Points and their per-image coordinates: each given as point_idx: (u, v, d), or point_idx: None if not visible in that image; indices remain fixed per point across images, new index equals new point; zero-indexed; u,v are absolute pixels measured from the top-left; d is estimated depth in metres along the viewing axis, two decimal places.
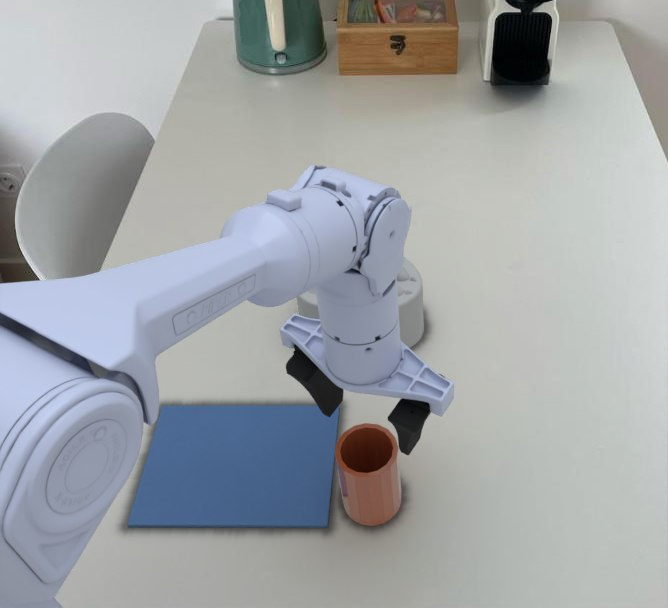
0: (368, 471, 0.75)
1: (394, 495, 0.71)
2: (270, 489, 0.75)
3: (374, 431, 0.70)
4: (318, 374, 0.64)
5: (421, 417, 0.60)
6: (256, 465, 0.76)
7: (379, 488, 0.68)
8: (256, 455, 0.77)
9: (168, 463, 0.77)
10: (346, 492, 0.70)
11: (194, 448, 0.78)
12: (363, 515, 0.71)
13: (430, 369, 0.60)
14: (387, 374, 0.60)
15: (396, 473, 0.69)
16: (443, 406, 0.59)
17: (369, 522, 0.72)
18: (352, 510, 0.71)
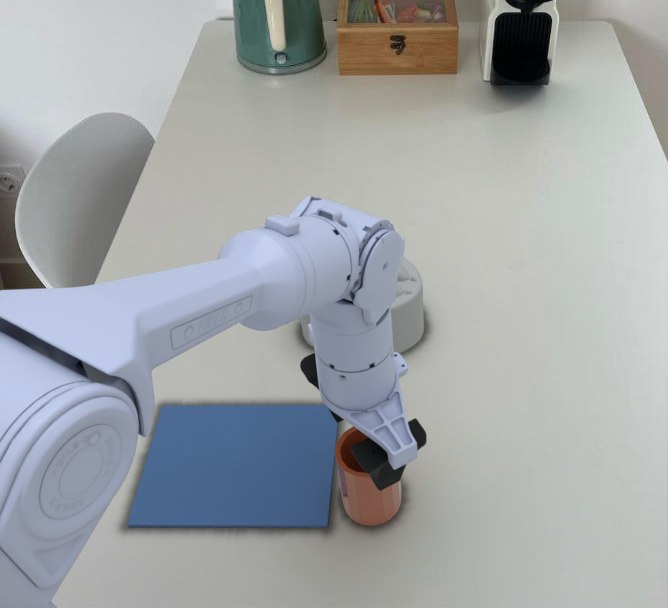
0: None
1: (394, 495, 0.71)
2: (270, 489, 0.75)
3: None
4: None
5: (377, 461, 0.59)
6: (256, 465, 0.76)
7: None
8: (256, 455, 0.77)
9: (168, 463, 0.77)
10: (346, 492, 0.70)
11: (194, 448, 0.78)
12: (363, 515, 0.71)
13: (405, 420, 0.59)
14: (363, 407, 0.60)
15: None
16: (397, 461, 0.58)
17: (369, 522, 0.72)
18: (352, 510, 0.71)
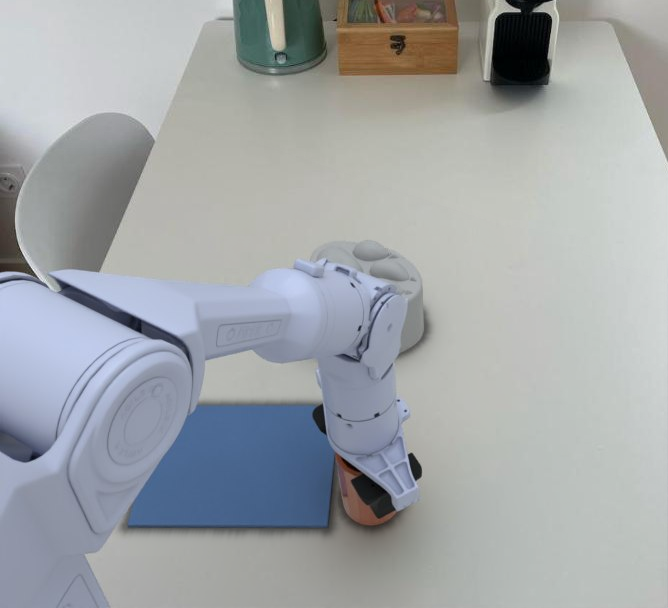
0: None
1: None
2: (270, 489, 0.75)
3: None
4: None
5: (376, 494, 0.64)
6: (256, 465, 0.76)
7: None
8: (256, 455, 0.77)
9: (168, 463, 0.77)
10: (346, 492, 0.70)
11: (194, 448, 0.78)
12: (363, 515, 0.71)
13: (407, 465, 0.63)
14: (368, 452, 0.64)
15: None
16: (400, 503, 0.62)
17: (369, 522, 0.72)
18: (352, 510, 0.71)
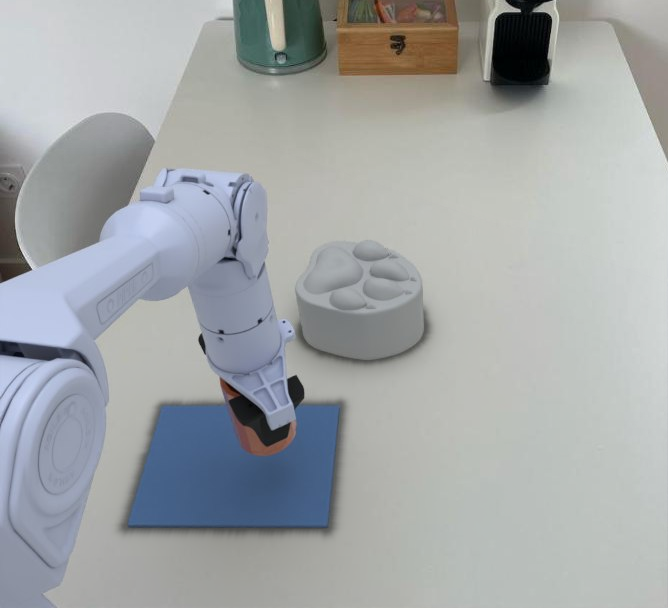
0: None
1: None
2: (270, 489, 0.75)
3: None
4: None
5: (253, 414, 0.61)
6: (256, 465, 0.76)
7: None
8: (256, 455, 0.77)
9: (168, 463, 0.77)
10: (233, 418, 0.67)
11: (194, 448, 0.78)
12: (252, 444, 0.68)
13: (284, 383, 0.61)
14: (245, 370, 0.61)
15: None
16: (273, 421, 0.59)
17: (260, 451, 0.69)
18: (241, 439, 0.69)
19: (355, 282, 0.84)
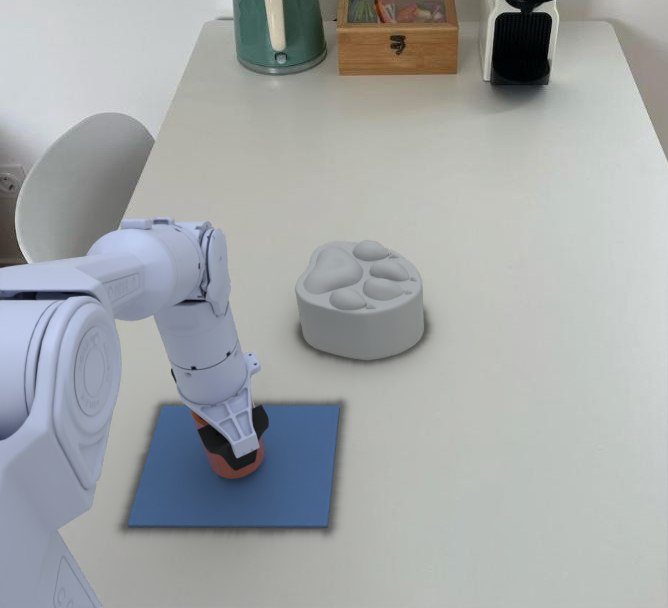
0: None
1: None
2: (270, 489, 0.75)
3: None
4: None
5: (219, 443, 0.66)
6: None
7: None
8: None
9: (168, 463, 0.77)
10: None
11: (194, 448, 0.78)
12: (222, 467, 0.73)
13: (248, 414, 0.65)
14: (212, 402, 0.66)
15: None
16: (238, 450, 0.64)
17: (229, 475, 0.74)
18: (212, 463, 0.73)
19: (355, 282, 0.84)
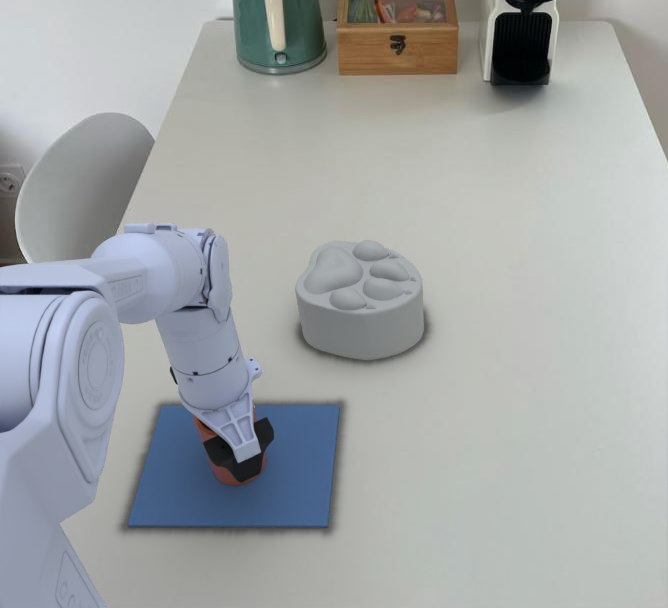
0: None
1: None
2: (270, 489, 0.75)
3: None
4: None
5: (225, 455, 0.66)
6: None
7: None
8: None
9: (168, 463, 0.77)
10: (206, 452, 0.73)
11: (194, 448, 0.78)
12: (225, 475, 0.74)
13: (250, 419, 0.66)
14: (214, 406, 0.66)
15: None
16: (239, 455, 0.64)
17: (232, 482, 0.75)
18: (215, 470, 0.74)
19: (355, 282, 0.84)
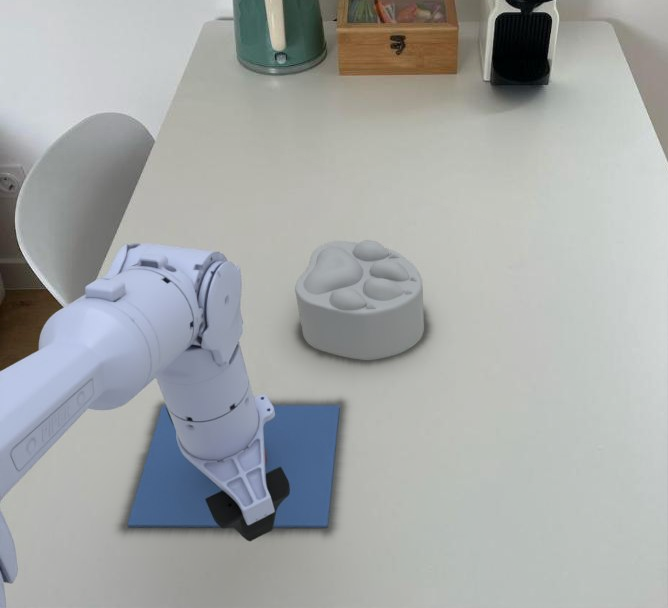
0: None
1: None
2: None
3: None
4: None
5: (232, 516, 0.55)
6: None
7: None
8: None
9: (168, 463, 0.77)
10: None
11: None
12: None
13: (261, 472, 0.55)
14: (219, 457, 0.56)
15: None
16: (249, 516, 0.54)
17: None
18: None
19: (355, 282, 0.84)
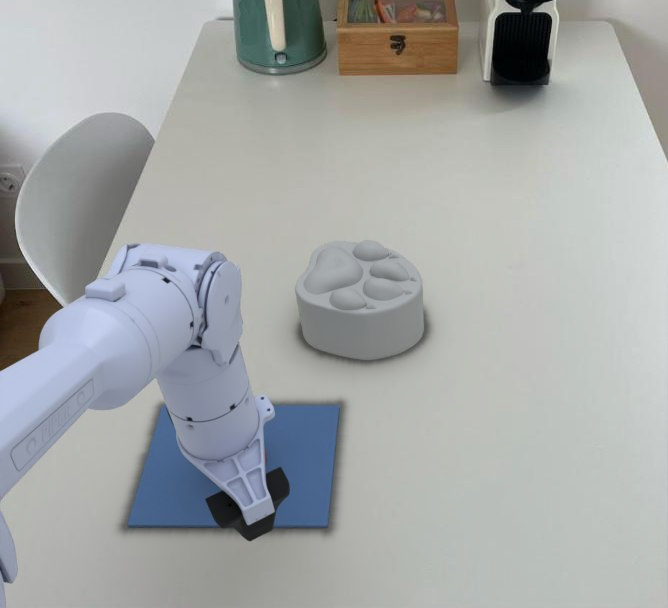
0: None
1: None
2: None
3: None
4: None
5: (232, 516, 0.55)
6: None
7: None
8: None
9: (168, 463, 0.77)
10: None
11: None
12: None
13: (261, 472, 0.55)
14: (219, 457, 0.56)
15: None
16: (249, 516, 0.54)
17: None
18: None
19: (355, 282, 0.84)
